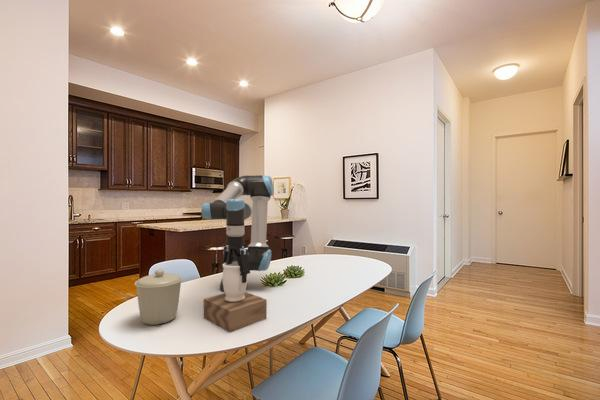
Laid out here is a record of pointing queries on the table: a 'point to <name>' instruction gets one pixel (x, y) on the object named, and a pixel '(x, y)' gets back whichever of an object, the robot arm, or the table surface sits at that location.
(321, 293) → the table surface
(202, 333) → the table surface
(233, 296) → the jar
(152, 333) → the table surface
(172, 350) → the table surface
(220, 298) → the walnut box
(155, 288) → the canister
